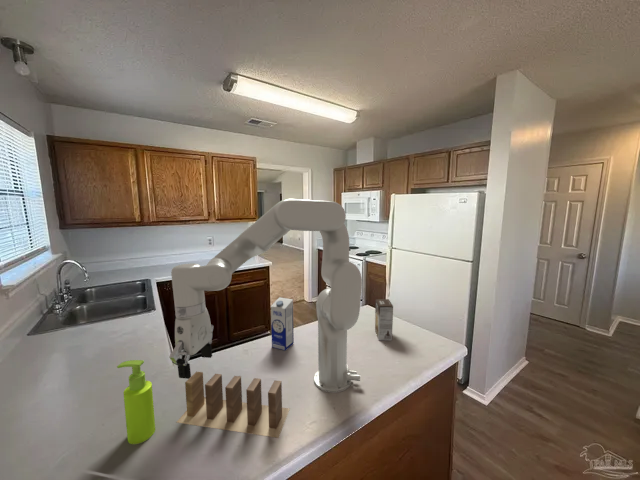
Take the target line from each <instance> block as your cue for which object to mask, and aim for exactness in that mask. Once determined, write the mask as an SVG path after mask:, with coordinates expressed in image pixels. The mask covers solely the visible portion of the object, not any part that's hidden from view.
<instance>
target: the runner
mask: <svg viewBox="0 0 640 480" xmlns="http://www.w3.org/2000/svg"><path fill="white" fill-rule="evenodd" d="M204 403H205V404H204V405H203V406H202V408H201V409H200V410H199V411H198V412H197V413H196V415H195V416H194V417H191V416H187V410H185V412H184V413H183V414H182V415H181V416H180V417H179V418H178V420H177V421H176V423H178V424H184V425H190V426H198V427H205V428H209V429H210V428H211V429H219V430H223V431H229V432H238V433H243V434H250V435H251V434H252V435H256V436H264V437H270V438H277V439H279V438H280V435H281V432H282V430H283V427H284V425H285V423H286V419H287V417H288V415H289V413H290V409H291V408H289V407H288V408H287V407H282V416H281V419H280V421H279V423H278V426H277V428H276V429H274V428H269V411H268V405H266V404H262V413H261V415H260V416H259V418H258V420H257V422H256V424H255V426H253V425H248V421H247V402H243V401H242V410H241V412H240V414H239V415H238V417H237V418H236V420H235V422H234V423H232V422H227V413H226V399H223V407H222V409H221V410H220V412H219V413H218V414H217V416H216V417H215V418H214V420H212V419H207V413H206V396H204Z"/></svg>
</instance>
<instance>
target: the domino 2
mask: <svg viewBox="0 0 640 480" xmlns="http://www.w3.org/2000/svg"><path fill="white" fill-rule="evenodd" d="M204 396H205V398H206V413H207V419H212V420H214V418H215V417H216V416H217V414H218V413H219V412H220V410H221V409H222V407H223V400H224V394H223V375H222V374H221V373H214V375H212V376H211V378H210V379H209V380H208V381H207V382H205V384H204Z"/></svg>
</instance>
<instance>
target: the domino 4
mask: <svg viewBox="0 0 640 480" xmlns="http://www.w3.org/2000/svg"><path fill="white" fill-rule="evenodd" d="M245 390H246V391H245V392H246V394H245V395H246V403H247V421H248V425H253V426H255V424H256V422H257V420H258V418H259V416H260V415H261V413H262V405H263V403H262V402H263V401H262V399H263V398H262V397H263V396H262V379H261V378H258V377H257V378H256V377H254V378H253V379H252V381H251V382H250V384H249V385H248V387H247V388H246V389H245Z"/></svg>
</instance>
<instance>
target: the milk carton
mask: <svg viewBox="0 0 640 480" xmlns="http://www.w3.org/2000/svg"><path fill="white" fill-rule="evenodd" d="M270 318H271V320H270V323H271V324H270V325H271V348H273V349H277V350H282V351H284V352H285V351H287V350H288V349H290V348H291V346H293V345H294V344H293V343H295V342H294V334H295V333H294V299H292V298H287V297H281V296H279V297H278V298H277V299H276V300H275V301H274V302H273V303H272V304H271V305H270Z"/></svg>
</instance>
